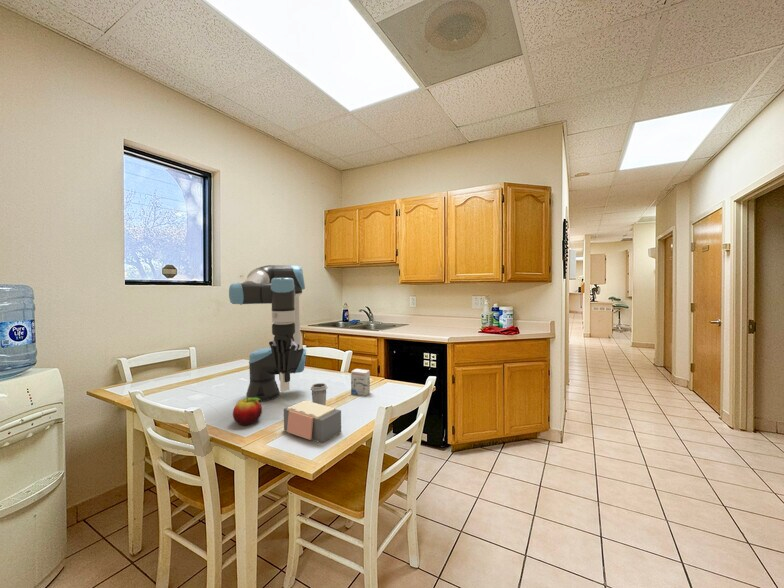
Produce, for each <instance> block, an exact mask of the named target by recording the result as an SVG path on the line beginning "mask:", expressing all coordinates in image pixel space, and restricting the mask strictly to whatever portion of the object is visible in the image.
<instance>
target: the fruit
mask: <svg viewBox="0 0 784 588" xmlns="http://www.w3.org/2000/svg"><path fill="white" fill-rule="evenodd" d="M257 400H261V399H259V398H256V397H255V398H249V397H247V399H246V398H243V399H240V400H238V402H237V403H236V405H235V406H234V408H233V410H232V416H233V420H234V422H236V423H237V424H239V425H240V426H250V425H253V424H254V423H256V422H257V421H259V419H260V418H261V415H262V413H263V411H262V410H263V408H262V404H261V403H260V402H258V401H257ZM249 424H250V425H249Z"/></svg>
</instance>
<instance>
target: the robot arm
mask: <svg viewBox="0 0 784 588" xmlns="http://www.w3.org/2000/svg"><path fill="white" fill-rule="evenodd" d="M303 273H304V272H303V267H301V266H300V265H295V264H294V265H293V264H292V265H291V264H287V265H286V264H282V265H279V264H277V265H275V264H273V265H271V264H270V265H269V264H268V265H263V266H259V267H256V268H255V269H252V270H251V271H250V272H249V273H248V275H247V276H246V279H245V280H244V281H243V282H241V283H240V282H237V283H234V282H233V283H230V285H229V289H228V298H229V303H231V304H233V305H241V306H242V305H257V304H258V305H259V304H261V305H263V304H270V305H271V323H272V324H271V334H272V336H273V340H272V341H269V342H268V344H269V345H268V346H269V347H265V348H259V349H256V350H254V351H252V352H251V353H249V358H248V360H249V361H248V365H249V368H248V369H249V384H248V388H247V391H246V393H245V397H246V398H245V399H247V397H249V398H255V397H256V398H259V399H261V400H257V401H258V402H259V403H260V402H266V401H271V400H274V399H276V398H277V397H279V396H280V392H282V393H285V392H288V391H290V382H291V374H299V373H303V372H304V371H305V366H306V358H307V357H306V356H307V349H306V348H304V345H303V344H302V343H301V336H300V335H301V330H300V328H301V327H300V325H301V323H300V322H301V321H300V320H301V319H300V296H301V295H302V293H303V290H305V289H306V285H305V278H304V277H305V276H304V274H303ZM276 375H278V377H279V383H280V384H279V385H280V386H278V384H277V381H276ZM279 387H280V389H279Z"/></svg>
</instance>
